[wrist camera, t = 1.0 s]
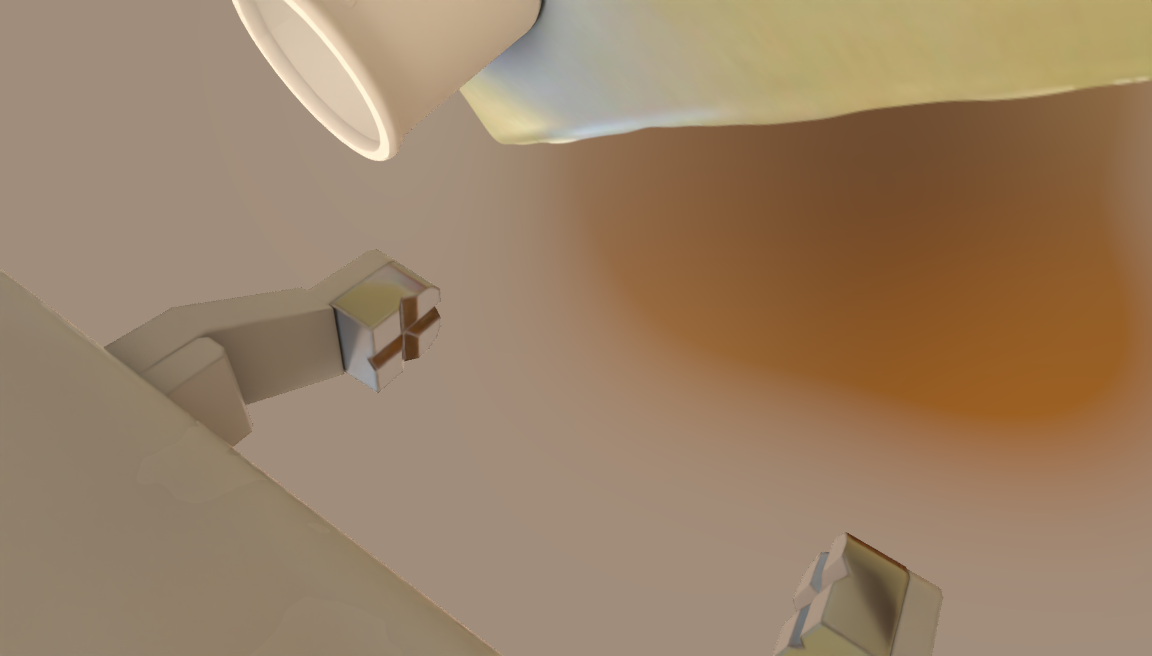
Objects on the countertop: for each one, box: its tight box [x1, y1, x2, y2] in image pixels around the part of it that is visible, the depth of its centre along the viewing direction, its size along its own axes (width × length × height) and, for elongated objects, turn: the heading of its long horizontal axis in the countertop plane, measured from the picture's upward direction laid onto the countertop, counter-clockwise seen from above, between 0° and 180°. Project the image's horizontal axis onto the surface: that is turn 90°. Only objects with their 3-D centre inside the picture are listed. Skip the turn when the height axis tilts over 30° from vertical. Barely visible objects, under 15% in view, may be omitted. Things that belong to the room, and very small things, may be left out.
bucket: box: [232, 0, 541, 161], centre depth 69 cm, size 26×22×25 cm
